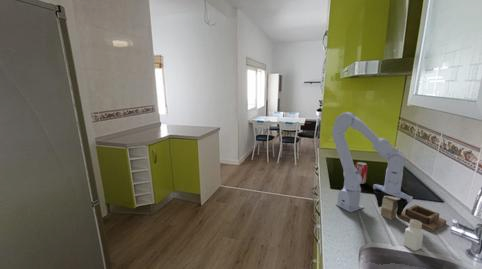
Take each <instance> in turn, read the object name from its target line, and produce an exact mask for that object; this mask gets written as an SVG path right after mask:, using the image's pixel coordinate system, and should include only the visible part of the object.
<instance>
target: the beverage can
mask: <svg viewBox="0 0 482 269" xmlns="http://www.w3.org/2000/svg"><path fill="white" fill-rule="evenodd" d="M354 166H355V167H356V169H357V171H358V173H359V174H360V175H361V177H362V181H361V183H360V185H363V184H366V182H367V175H368V169H369V168H368V167H369V166H368V164H367V163H366V162H362V161H358V162H356V164H355V165H354Z"/></svg>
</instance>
